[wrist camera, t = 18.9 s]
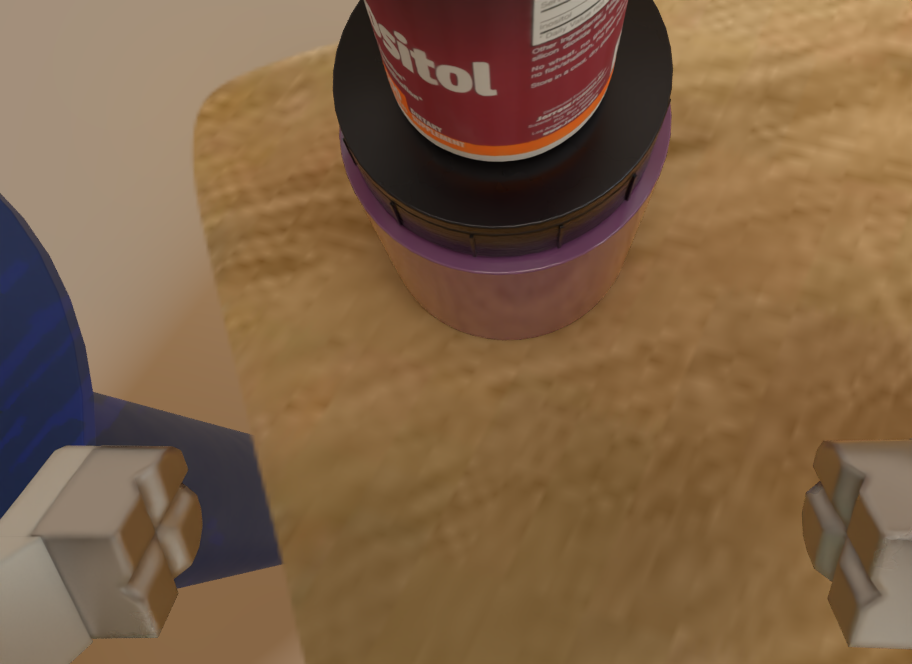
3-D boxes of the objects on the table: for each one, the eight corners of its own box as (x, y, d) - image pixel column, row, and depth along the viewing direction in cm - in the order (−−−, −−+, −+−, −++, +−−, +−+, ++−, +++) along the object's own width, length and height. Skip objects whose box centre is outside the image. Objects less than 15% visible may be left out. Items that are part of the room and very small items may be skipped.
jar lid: (359, 274, 22) (340, 247, 20) (344, 0, 25) (325, -53, 22) (680, 239, 22) (698, 207, 19) (634, -39, 24) (646, -98, 22)
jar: (396, 352, 31) (330, 272, 21) (381, 127, 34) (314, -49, 23) (647, 326, 31) (713, 228, 20) (613, 99, 33) (656, -97, 22)
